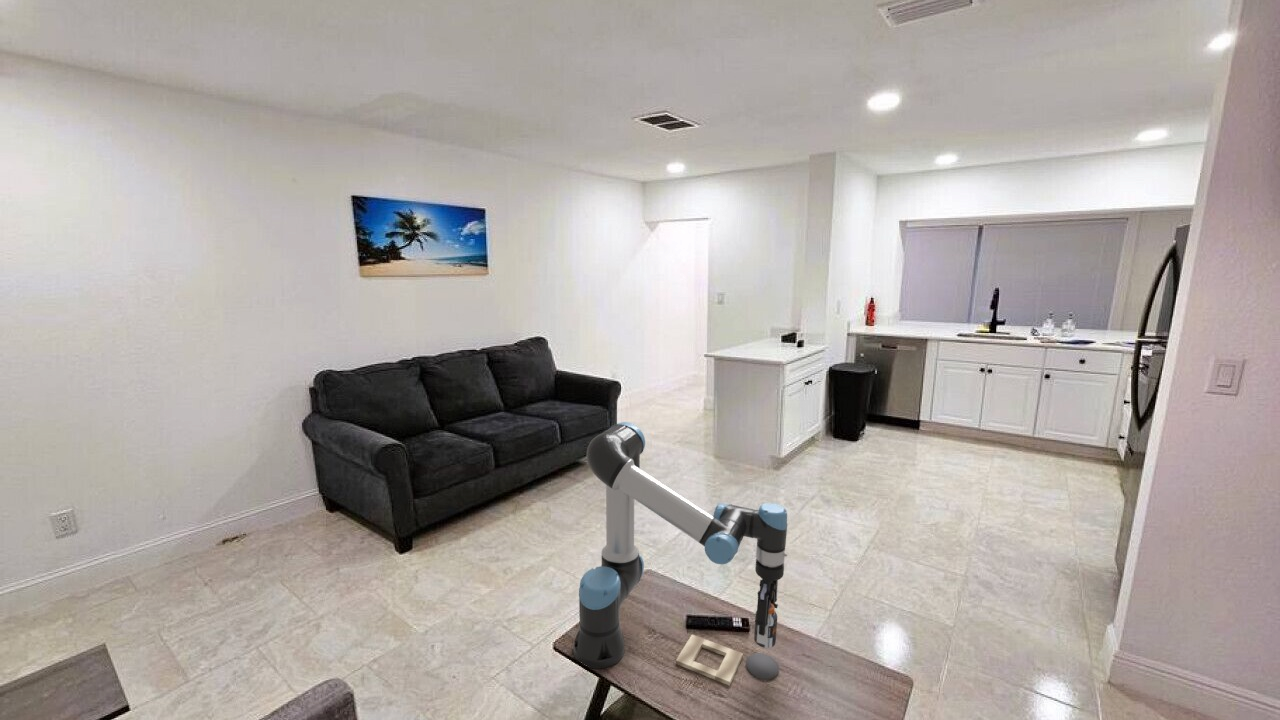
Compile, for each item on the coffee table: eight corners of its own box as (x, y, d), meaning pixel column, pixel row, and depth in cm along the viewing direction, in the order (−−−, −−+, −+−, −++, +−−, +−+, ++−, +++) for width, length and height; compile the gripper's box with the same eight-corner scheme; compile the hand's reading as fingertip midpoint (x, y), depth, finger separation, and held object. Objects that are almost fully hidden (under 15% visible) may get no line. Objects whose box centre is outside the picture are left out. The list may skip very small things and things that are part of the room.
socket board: (675, 663, 148) (675, 660, 148) (691, 637, 158) (692, 634, 158) (729, 685, 141) (729, 682, 140) (742, 657, 151) (743, 653, 151)
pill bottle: (776, 650, 142) (778, 613, 140) (754, 647, 144) (756, 610, 141) (775, 635, 148) (777, 600, 146) (753, 632, 149) (756, 597, 147)
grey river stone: (742, 671, 146) (742, 669, 145) (751, 651, 153) (751, 648, 153) (774, 684, 141) (774, 681, 141) (781, 662, 149) (782, 660, 149)
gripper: (775, 582, 131) (769, 662, 136) (791, 547, 148) (786, 620, 152) (746, 574, 135) (741, 652, 139) (765, 540, 151) (760, 611, 155)
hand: (765, 635), depth 145 cm, fingers closed on pill bottle, 6 cm apart
